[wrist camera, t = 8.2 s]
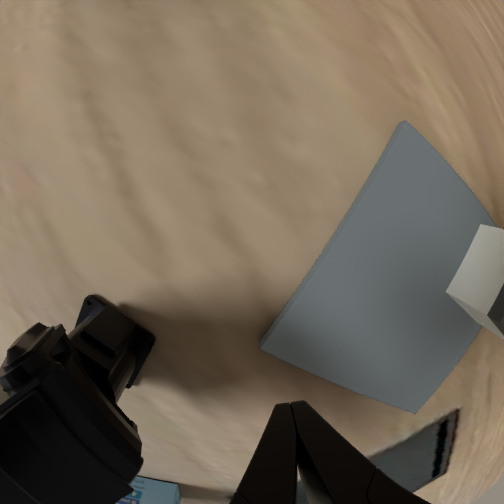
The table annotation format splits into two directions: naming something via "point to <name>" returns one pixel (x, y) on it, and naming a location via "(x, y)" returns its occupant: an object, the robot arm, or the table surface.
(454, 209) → the mat
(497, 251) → the housing
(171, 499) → the gum box
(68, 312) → the table surface
